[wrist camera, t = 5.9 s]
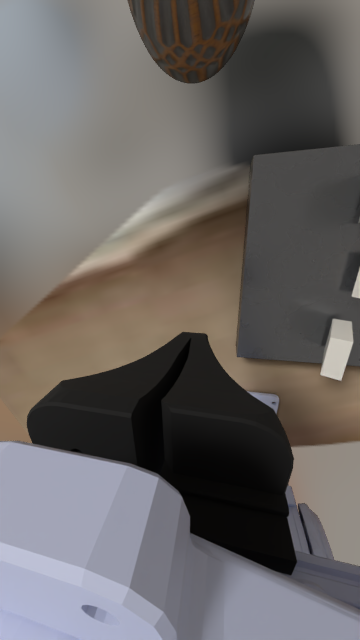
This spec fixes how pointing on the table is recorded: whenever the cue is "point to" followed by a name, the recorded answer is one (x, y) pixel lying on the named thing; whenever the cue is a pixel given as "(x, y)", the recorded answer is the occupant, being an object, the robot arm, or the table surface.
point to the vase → (191, 34)
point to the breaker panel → (300, 254)
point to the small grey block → (337, 349)
